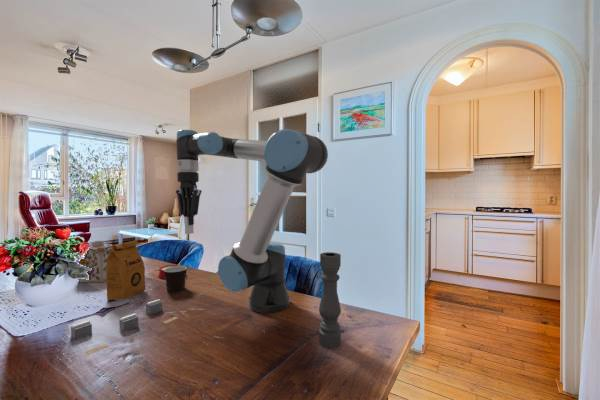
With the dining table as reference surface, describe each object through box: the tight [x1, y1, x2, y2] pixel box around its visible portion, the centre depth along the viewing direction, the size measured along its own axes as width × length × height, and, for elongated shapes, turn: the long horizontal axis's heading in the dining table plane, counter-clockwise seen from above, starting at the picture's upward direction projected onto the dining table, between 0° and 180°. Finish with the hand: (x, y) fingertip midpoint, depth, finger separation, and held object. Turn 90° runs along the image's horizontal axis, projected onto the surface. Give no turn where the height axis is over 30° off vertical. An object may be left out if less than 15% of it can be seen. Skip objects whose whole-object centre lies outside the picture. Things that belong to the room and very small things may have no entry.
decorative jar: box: [77, 240, 114, 283], centre depth 134 cm, size 12×12×18 cm
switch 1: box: [70, 320, 93, 341], centre depth 80 cm, size 3×4×4 cm
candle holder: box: [318, 251, 342, 349], centre depth 79 cm, size 6×6×25 cm
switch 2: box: [118, 313, 139, 333], centre depth 84 cm, size 3×4×4 cm
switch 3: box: [145, 298, 163, 316], centre depth 95 cm, size 3×4×4 cm
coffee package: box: [105, 239, 147, 301], centre depth 112 cm, size 10×12×22 cm
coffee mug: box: [164, 265, 188, 293], centre depth 118 cm, size 12×9×10 cm
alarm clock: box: [155, 264, 179, 279], centre depth 139 cm, size 10×6×15 cm
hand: (189, 233), depth 108 cm, fingers closed
